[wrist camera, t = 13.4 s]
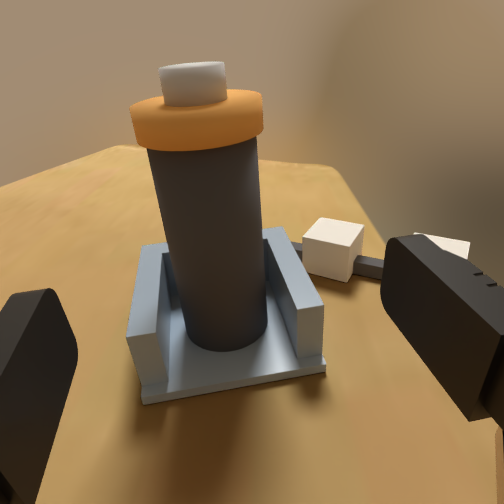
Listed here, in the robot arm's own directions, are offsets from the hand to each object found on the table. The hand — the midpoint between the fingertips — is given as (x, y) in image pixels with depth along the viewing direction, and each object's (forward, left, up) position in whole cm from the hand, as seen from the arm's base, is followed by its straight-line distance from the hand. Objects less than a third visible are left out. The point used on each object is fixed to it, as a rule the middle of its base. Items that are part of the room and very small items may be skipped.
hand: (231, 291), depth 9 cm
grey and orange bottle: (-5, +6, -8) cm, 11 cm away
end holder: (-5, +6, -8) cm, 12 cm away
